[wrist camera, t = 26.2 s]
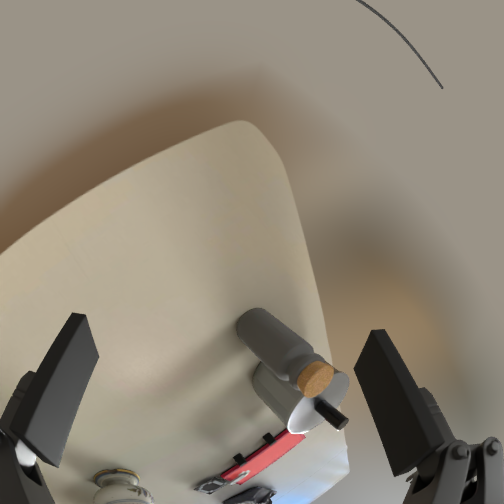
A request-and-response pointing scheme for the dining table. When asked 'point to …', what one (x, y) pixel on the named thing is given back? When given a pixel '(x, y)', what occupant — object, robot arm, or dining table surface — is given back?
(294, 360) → the bottle
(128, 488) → the apothecary jar
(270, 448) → the red board with handle
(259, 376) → the pot
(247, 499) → the dark slate chunk
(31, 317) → the dining table surface
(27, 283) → the dining table surface
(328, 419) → the pot lid
